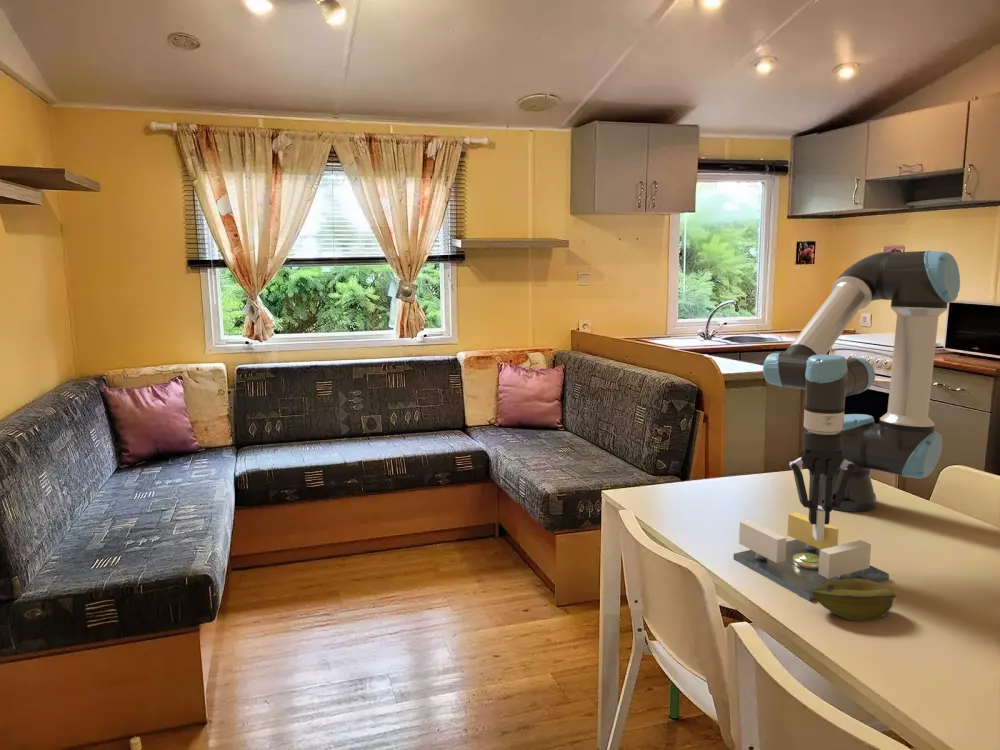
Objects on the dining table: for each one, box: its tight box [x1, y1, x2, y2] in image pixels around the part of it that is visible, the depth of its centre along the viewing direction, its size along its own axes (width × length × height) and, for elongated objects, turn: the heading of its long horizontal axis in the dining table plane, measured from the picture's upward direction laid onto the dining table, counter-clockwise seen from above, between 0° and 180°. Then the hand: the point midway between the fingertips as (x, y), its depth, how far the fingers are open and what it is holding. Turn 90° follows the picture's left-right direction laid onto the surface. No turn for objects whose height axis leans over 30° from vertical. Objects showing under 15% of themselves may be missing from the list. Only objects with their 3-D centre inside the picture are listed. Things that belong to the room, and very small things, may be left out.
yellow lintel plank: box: [787, 511, 839, 550], centre depth 153 cm, size 11×2×6 cm, turn 26°
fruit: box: [811, 578, 897, 622], centre depth 129 cm, size 11×12×7 cm
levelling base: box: [733, 539, 890, 602], centre depth 147 cm, size 21×21×3 cm
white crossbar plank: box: [738, 519, 787, 563], centre depth 149 cm, size 11×2×6 cm, turn 23°
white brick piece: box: [818, 539, 872, 579], centre depth 140 cm, size 11×2×6 cm, turn 113°
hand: (818, 538), depth 150 cm, fingers closed
